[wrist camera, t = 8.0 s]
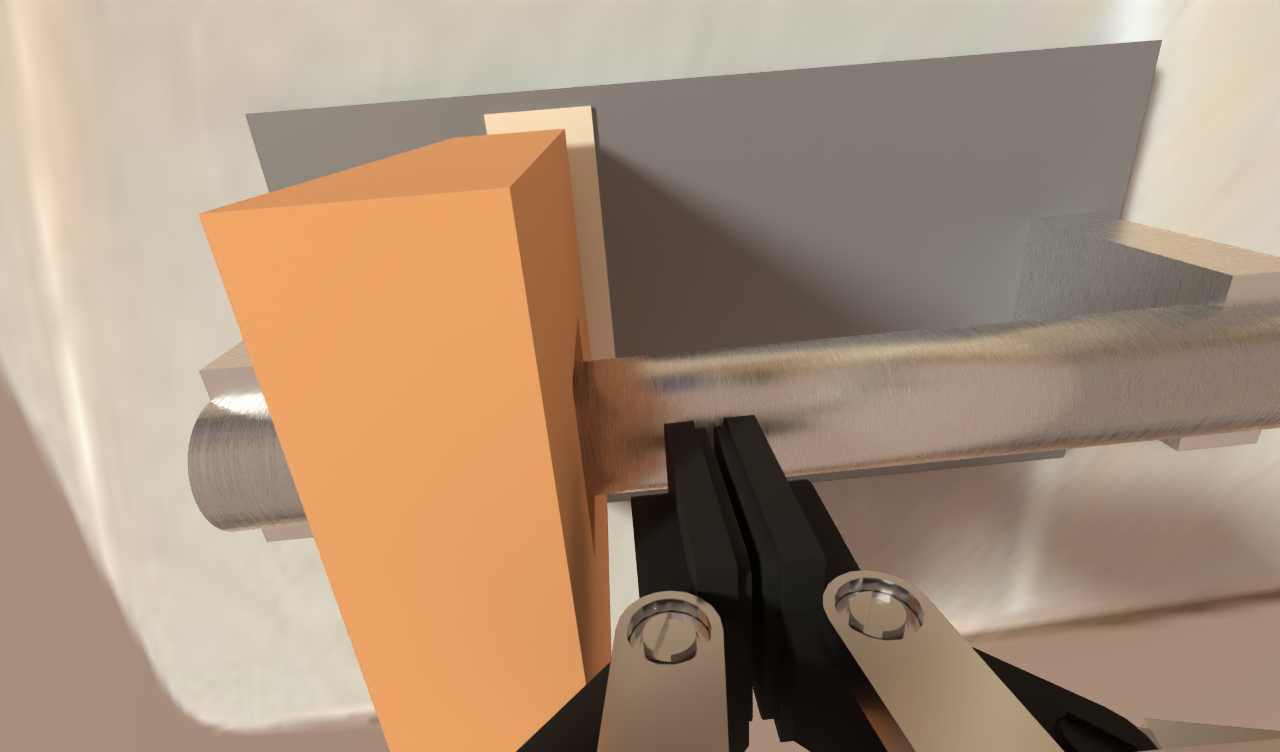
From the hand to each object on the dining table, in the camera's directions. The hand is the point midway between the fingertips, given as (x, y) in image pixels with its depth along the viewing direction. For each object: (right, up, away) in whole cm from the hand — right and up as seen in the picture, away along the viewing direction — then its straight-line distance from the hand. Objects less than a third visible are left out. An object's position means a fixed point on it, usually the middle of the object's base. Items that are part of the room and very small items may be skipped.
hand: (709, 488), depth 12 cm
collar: (-4, +3, +8) cm, 9 cm away
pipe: (+1, +4, +9) cm, 10 cm away
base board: (+1, +5, +10) cm, 11 cm away
